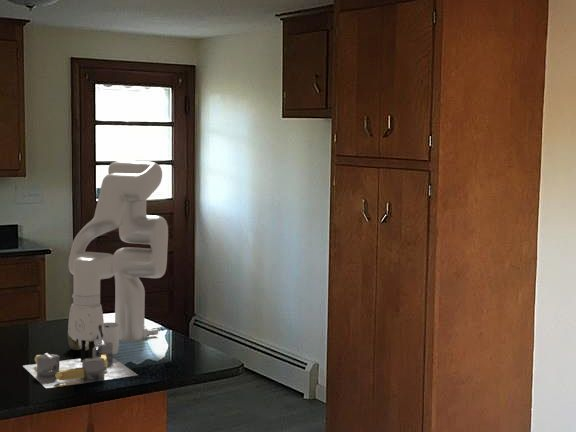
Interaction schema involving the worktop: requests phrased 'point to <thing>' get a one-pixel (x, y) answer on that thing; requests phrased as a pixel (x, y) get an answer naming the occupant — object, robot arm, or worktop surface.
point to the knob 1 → (47, 365)
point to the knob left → (85, 370)
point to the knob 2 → (104, 351)
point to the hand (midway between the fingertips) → (86, 361)
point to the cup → (73, 343)
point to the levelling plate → (111, 372)
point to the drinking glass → (112, 335)
